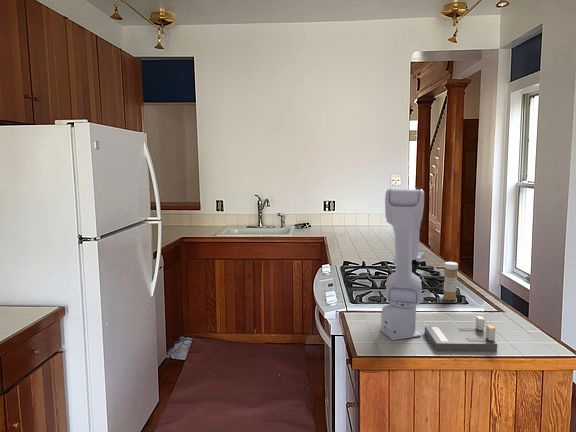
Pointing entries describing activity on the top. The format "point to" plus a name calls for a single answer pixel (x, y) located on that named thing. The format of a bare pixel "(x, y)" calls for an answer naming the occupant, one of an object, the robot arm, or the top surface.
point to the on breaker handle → (480, 322)
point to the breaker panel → (459, 339)
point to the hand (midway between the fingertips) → (408, 282)
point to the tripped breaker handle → (490, 332)
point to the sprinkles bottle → (450, 280)
